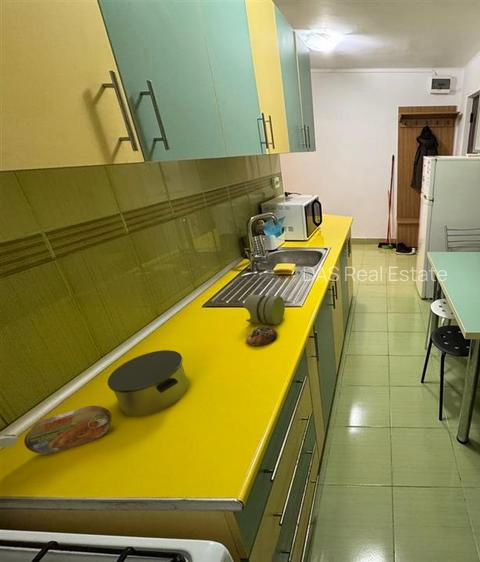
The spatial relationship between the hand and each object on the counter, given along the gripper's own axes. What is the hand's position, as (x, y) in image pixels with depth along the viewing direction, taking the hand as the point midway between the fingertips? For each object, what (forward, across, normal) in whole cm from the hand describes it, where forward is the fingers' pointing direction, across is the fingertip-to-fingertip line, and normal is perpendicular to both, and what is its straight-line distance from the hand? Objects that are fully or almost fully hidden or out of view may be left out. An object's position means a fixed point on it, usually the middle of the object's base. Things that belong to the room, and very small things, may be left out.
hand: (6, 431), depth 63 cm
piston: (+58, +2, -42) cm, 72 cm away
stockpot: (+26, -1, -10) cm, 28 cm away
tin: (+14, 0, +3) cm, 14 cm away
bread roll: (+51, -6, -34) cm, 62 cm away
